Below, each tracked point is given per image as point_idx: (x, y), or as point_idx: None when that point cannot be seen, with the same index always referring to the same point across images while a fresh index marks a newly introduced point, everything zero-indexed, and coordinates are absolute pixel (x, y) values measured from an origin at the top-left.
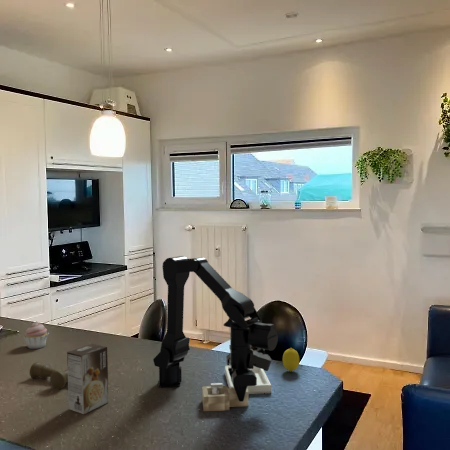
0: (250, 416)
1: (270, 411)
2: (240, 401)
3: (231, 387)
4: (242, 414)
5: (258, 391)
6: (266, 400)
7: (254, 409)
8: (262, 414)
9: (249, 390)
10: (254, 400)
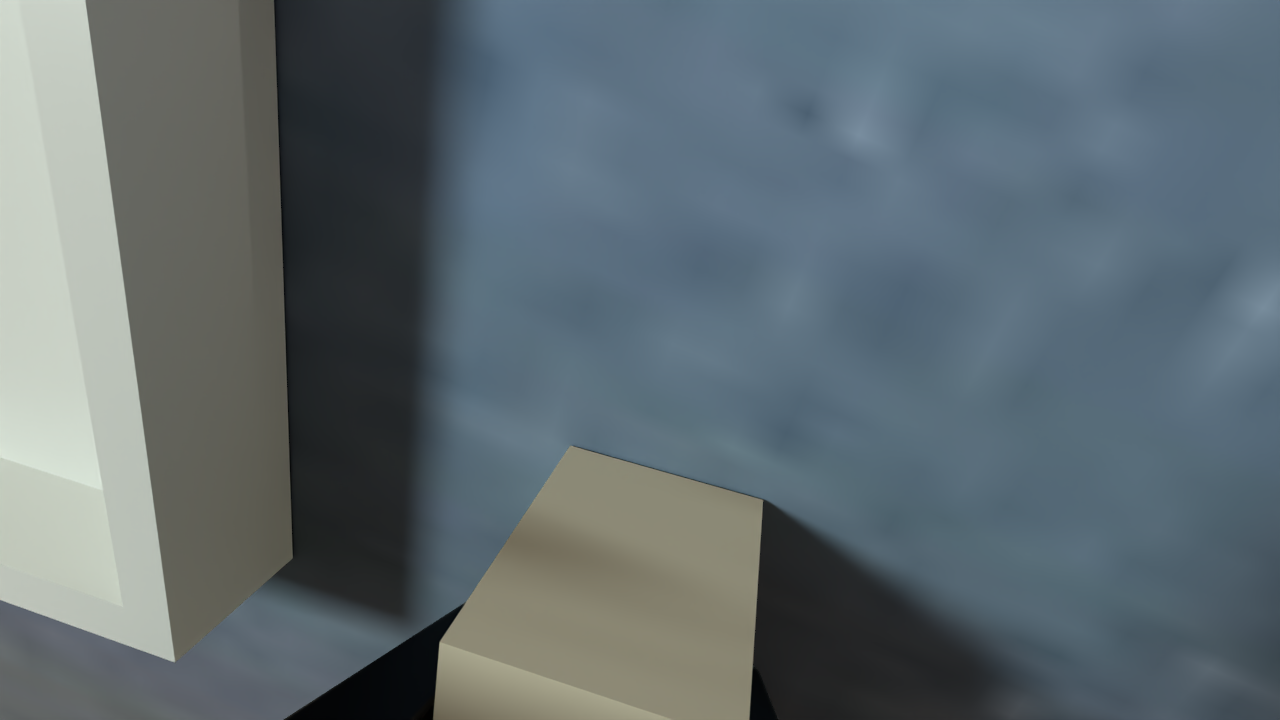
0: (1199, 644)
1: (1246, 177)
2: None
3: (191, 638)
4: (1036, 710)
5: (238, 87)
6: (625, 33)
7: (948, 460)
8: (1272, 416)
9: (226, 293)
10: (560, 295)
